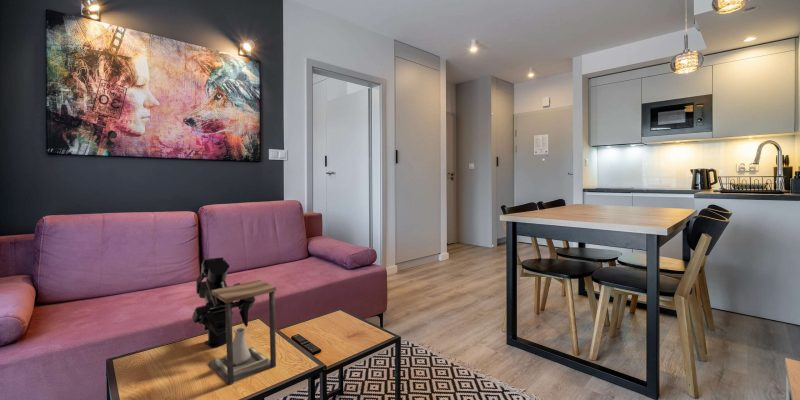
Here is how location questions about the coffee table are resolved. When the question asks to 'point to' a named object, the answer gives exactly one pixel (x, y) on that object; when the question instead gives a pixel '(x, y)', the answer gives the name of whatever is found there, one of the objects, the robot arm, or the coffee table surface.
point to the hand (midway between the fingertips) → (232, 330)
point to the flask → (240, 347)
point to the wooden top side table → (221, 364)
